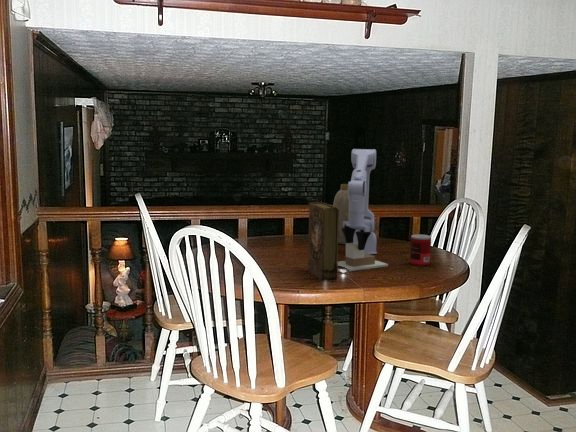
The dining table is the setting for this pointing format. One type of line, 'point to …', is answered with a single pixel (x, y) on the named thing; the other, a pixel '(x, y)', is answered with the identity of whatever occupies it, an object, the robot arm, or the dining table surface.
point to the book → (323, 240)
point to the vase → (342, 210)
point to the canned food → (420, 250)
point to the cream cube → (354, 251)
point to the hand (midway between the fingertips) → (355, 248)
